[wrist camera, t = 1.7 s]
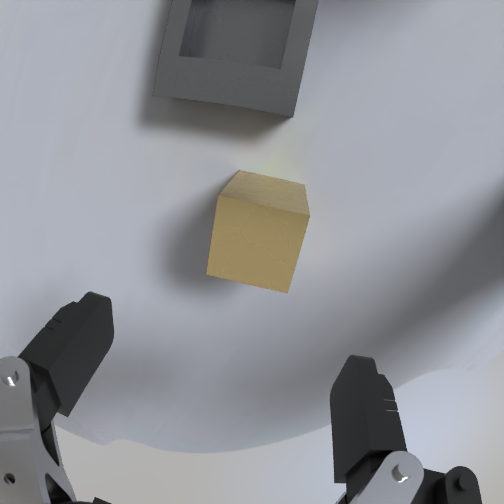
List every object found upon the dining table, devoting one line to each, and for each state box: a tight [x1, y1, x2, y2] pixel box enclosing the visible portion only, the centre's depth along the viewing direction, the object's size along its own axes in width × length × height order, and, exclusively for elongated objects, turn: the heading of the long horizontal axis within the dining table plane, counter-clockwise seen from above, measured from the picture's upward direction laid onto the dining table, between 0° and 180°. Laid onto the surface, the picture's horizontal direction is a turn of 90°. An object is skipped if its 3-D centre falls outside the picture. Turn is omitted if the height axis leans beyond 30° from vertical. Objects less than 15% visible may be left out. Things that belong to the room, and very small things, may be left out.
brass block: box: [206, 170, 310, 293], centre depth 20 cm, size 5×5×7 cm
